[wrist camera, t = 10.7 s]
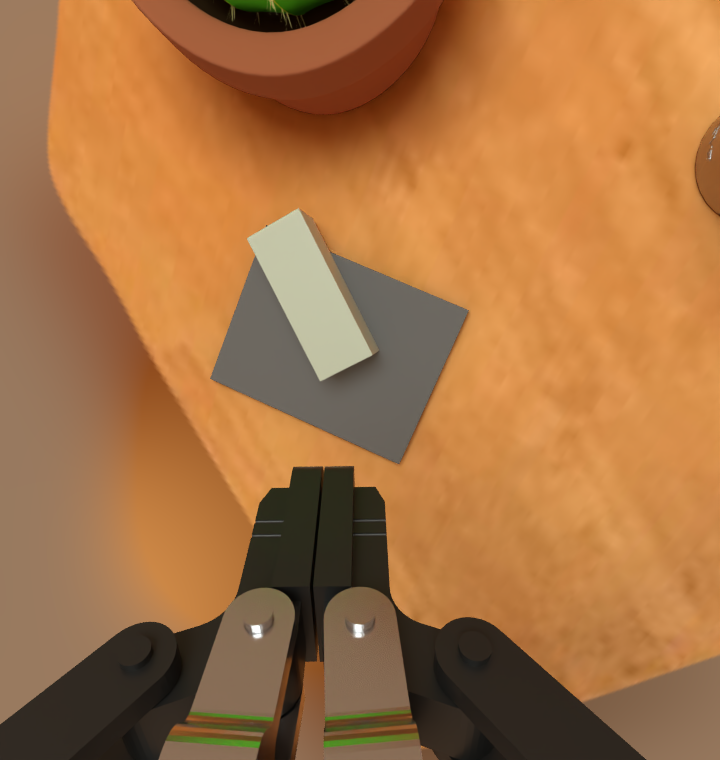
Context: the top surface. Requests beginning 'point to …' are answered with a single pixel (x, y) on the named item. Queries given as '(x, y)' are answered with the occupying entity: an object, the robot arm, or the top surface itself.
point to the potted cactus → (299, 45)
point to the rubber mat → (356, 383)
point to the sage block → (313, 294)
